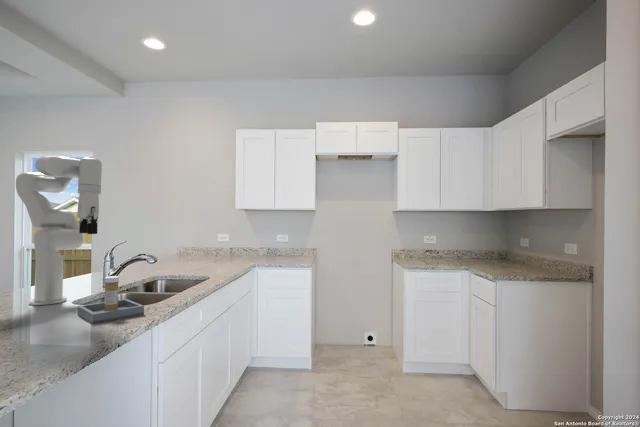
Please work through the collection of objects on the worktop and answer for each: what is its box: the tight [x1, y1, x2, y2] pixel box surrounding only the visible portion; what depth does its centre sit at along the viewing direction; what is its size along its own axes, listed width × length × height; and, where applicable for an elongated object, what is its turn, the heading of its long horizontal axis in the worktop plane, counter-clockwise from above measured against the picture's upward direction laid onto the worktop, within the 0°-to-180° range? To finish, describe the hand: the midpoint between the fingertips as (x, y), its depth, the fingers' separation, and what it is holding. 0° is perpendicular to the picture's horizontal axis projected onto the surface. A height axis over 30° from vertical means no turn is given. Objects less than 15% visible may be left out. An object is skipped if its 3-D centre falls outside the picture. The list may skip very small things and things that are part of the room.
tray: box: [77, 298, 145, 324], centre depth 130 cm, size 17×17×3 cm
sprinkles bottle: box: [103, 275, 120, 312], centre depth 130 cm, size 5×5×13 cm
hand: (88, 233), depth 135 cm, fingers open, 9 cm apart
